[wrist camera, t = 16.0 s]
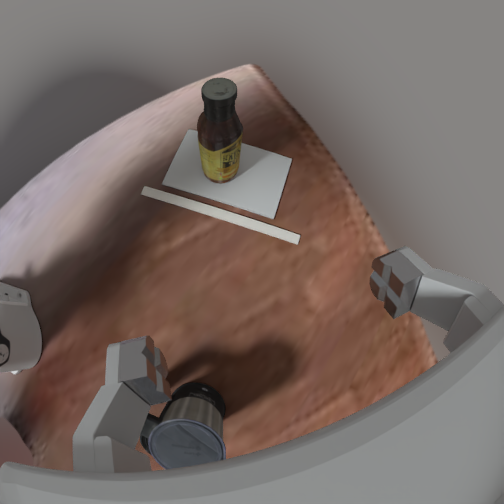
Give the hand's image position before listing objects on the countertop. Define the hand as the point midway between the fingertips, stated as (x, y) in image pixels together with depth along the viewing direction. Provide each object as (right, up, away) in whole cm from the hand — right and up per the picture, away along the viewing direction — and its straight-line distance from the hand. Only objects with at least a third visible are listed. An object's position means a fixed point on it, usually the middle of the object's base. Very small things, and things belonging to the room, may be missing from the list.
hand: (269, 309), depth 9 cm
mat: (-5, +16, +37) cm, 41 cm away
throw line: (-6, +8, +36) cm, 37 cm away
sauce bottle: (-6, +16, +37) cm, 41 cm away
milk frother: (-12, -26, +30) cm, 42 cm away
